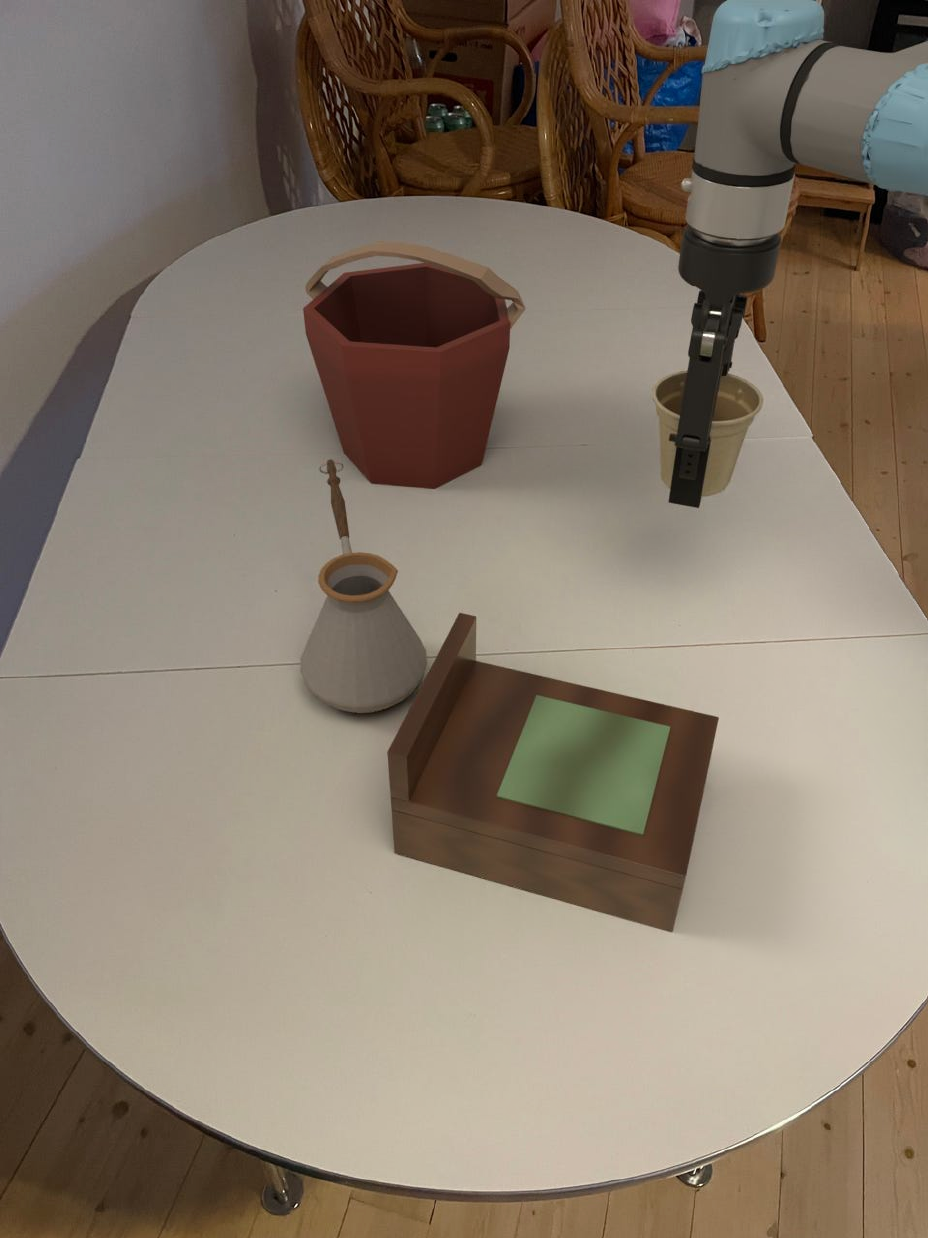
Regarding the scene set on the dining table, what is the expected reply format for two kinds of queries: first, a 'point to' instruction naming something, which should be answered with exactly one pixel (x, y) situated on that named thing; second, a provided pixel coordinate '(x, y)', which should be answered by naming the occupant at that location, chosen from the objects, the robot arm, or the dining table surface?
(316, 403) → the dining table surface
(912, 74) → the robot arm
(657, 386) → the flower pot
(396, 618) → the coffee pot
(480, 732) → the plant shelf
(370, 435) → the bucket
